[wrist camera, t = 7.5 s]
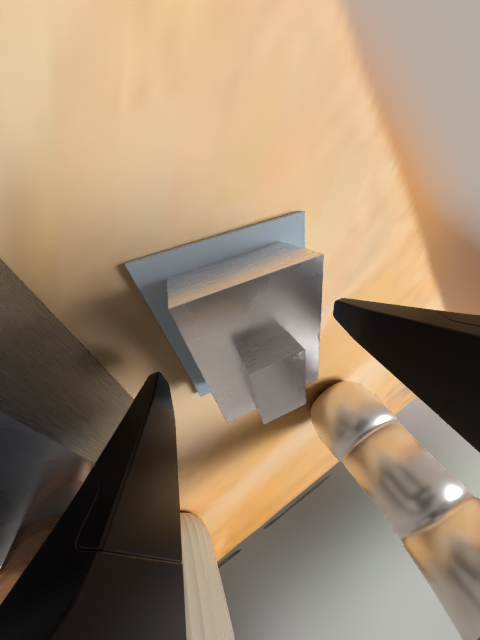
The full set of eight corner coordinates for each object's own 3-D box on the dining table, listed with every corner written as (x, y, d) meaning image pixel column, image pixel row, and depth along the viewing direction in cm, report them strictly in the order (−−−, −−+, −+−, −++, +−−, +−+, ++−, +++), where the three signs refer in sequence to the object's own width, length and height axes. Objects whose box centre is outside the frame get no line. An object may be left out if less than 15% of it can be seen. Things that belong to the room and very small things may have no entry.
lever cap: (288, 347, 13) (333, 397, 9) (214, 379, 12) (234, 447, 9) (279, 240, 9) (352, 263, 5) (166, 277, 8) (169, 330, 5)
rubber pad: (302, 347, 14) (305, 350, 14) (199, 391, 13) (200, 396, 12) (299, 211, 9) (304, 211, 8) (126, 262, 8) (124, 264, 7)
